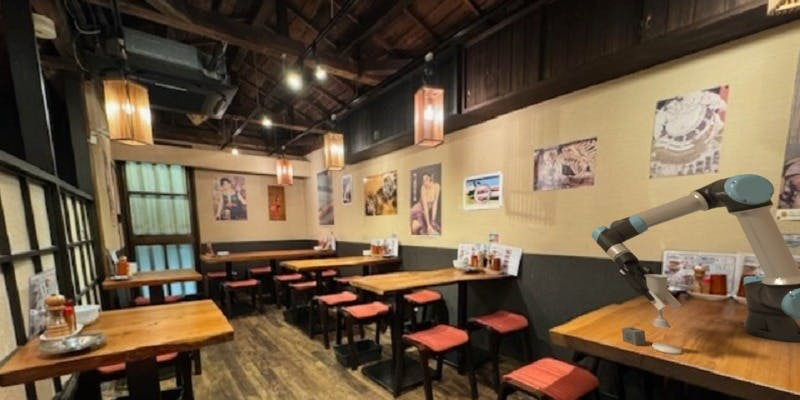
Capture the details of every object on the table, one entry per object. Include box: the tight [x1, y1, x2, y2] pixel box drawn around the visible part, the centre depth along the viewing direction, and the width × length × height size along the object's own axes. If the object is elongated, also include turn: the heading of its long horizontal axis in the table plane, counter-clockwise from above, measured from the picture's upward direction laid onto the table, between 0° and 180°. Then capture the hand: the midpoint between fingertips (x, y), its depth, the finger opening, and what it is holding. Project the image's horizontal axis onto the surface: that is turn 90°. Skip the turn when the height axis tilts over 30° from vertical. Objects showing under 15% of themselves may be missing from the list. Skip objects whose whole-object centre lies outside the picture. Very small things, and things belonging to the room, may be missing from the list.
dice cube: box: [621, 326, 647, 347], centre depth 115 cm, size 5×5×5 cm
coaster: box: [651, 342, 683, 356], centre depth 107 cm, size 8×8×1 cm
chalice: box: [643, 273, 671, 329], centre depth 109 cm, size 7×7×18 cm
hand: (669, 307), depth 105 cm, fingers closed on chalice, 6 cm apart
